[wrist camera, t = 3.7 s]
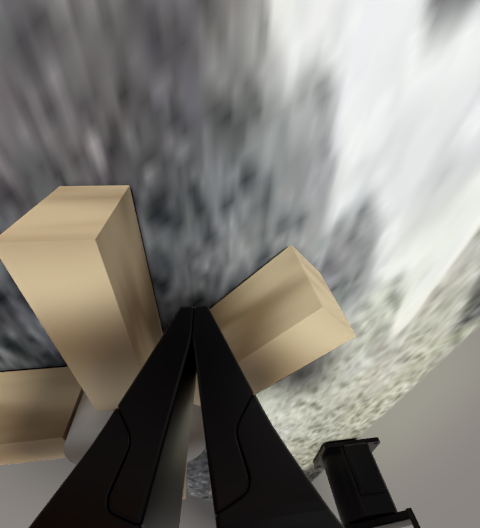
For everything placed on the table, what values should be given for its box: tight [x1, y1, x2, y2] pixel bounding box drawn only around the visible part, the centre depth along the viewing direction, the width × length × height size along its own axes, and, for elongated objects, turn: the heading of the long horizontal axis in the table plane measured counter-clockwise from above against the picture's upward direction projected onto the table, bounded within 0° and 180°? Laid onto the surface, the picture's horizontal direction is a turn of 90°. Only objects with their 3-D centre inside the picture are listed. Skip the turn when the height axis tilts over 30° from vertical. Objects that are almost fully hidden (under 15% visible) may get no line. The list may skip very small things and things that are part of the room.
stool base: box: [0, 185, 206, 500], centre depth 15 cm, size 25×16×5 cm, turn 178°
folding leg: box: [193, 245, 356, 406], centre depth 12 cm, size 8×2×4 cm, turn 133°
